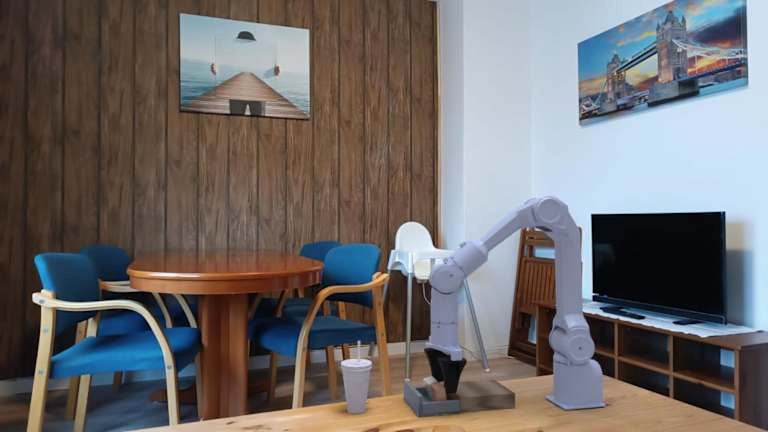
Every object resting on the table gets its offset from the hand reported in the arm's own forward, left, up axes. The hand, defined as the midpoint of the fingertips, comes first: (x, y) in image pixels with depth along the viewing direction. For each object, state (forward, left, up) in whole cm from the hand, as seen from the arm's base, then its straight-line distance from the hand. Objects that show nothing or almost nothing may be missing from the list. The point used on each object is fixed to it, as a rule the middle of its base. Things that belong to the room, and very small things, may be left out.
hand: (444, 387), depth 109 cm
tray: (+3, 0, -4) cm, 5 cm away
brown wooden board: (-8, 0, -4) cm, 8 cm away
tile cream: (+1, -2, -1) cm, 3 cm away
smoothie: (+18, -1, -4) cm, 19 cm away
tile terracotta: (+1, +2, -1) cm, 2 cm away
